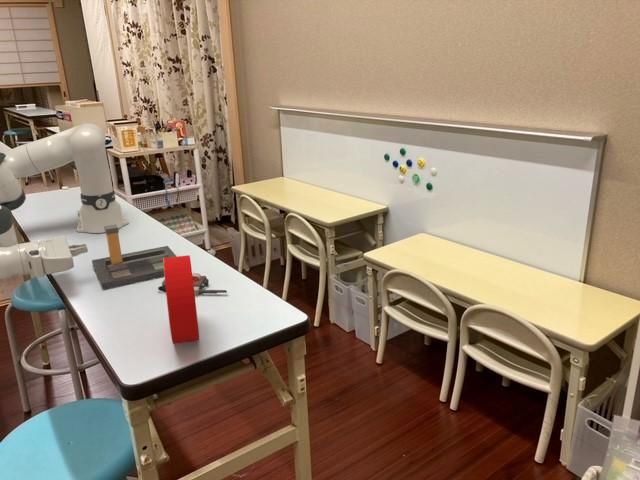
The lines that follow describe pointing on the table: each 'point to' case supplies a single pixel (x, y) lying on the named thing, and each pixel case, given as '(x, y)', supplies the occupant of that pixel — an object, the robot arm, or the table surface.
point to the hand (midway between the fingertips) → (86, 247)
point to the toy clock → (181, 299)
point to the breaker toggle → (113, 243)
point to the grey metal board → (132, 267)
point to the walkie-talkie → (197, 285)
